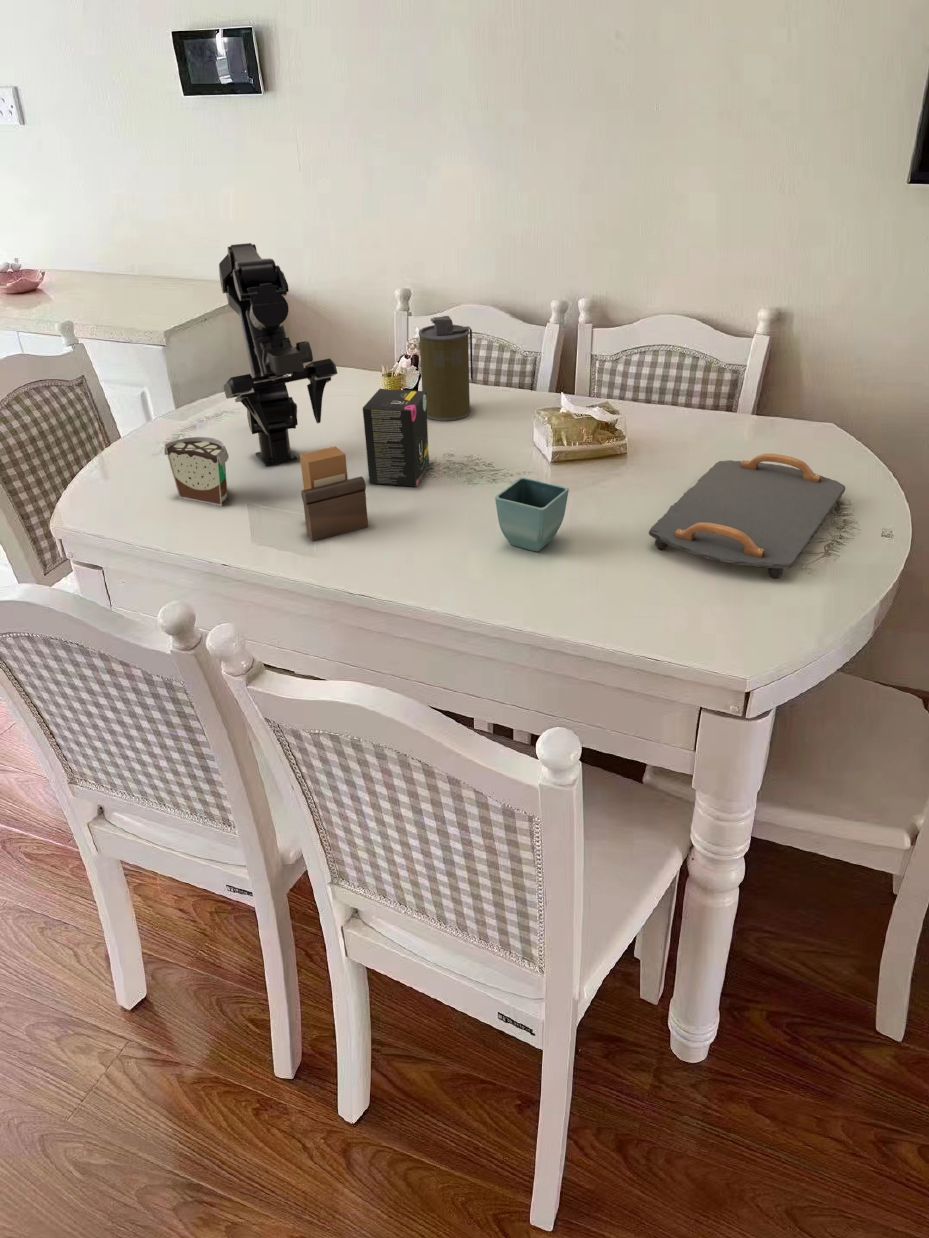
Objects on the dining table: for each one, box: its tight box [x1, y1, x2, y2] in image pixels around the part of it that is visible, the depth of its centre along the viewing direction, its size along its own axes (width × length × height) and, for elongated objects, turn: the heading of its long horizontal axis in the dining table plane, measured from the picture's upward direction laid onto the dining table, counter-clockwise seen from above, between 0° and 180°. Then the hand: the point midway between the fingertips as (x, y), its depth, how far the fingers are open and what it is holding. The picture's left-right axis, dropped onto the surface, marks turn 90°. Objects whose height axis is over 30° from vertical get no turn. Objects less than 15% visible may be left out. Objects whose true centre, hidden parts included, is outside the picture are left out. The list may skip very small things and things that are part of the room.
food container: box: [163, 436, 230, 507], centre depth 171 cm, size 12×6×10 cm, turn 65°
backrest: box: [300, 476, 369, 542], centre depth 158 cm, size 2×10×9 cm, turn 119°
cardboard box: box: [299, 446, 348, 490], centre depth 160 cm, size 4×6×12 cm, turn 119°
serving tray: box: [648, 453, 846, 580], centre depth 158 cm, size 39×23×6 cm, turn 148°
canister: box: [418, 315, 474, 422], centre depth 201 cm, size 11×10×20 cm
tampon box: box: [362, 388, 430, 487], centre depth 176 cm, size 11×9×15 cm
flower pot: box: [494, 477, 570, 552], centre depth 153 cm, size 9×9×9 cm
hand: (293, 428), depth 166 cm, fingers open, 9 cm apart
